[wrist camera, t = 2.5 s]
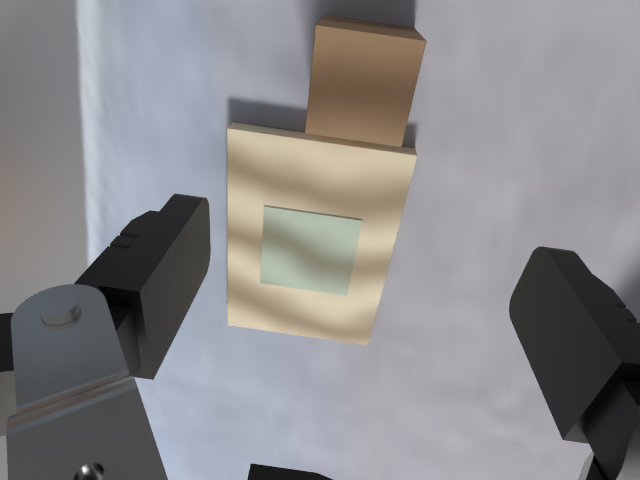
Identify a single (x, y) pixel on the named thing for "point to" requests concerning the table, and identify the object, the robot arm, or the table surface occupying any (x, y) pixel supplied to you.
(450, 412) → the table surface
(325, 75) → the walnut block
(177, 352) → the table surface
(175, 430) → the table surface
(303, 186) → the birch board
